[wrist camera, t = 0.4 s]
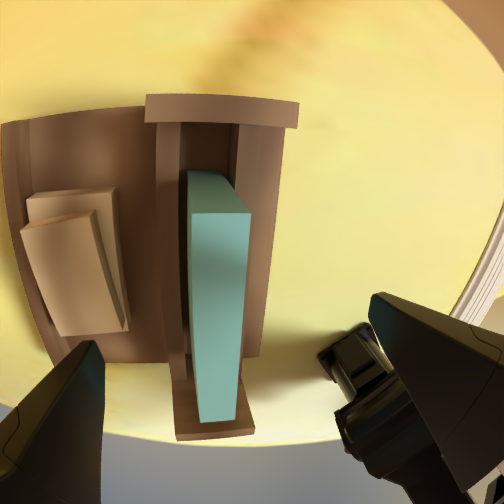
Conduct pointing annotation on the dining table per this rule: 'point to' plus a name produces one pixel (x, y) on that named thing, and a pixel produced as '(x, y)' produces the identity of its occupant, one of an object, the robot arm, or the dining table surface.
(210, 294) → the teal sheet
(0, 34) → the dining table surface
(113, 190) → the board
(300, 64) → the dining table surface
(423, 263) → the dining table surface
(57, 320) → the upper offcut
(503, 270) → the baseboard molding
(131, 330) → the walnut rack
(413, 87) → the dining table surface
